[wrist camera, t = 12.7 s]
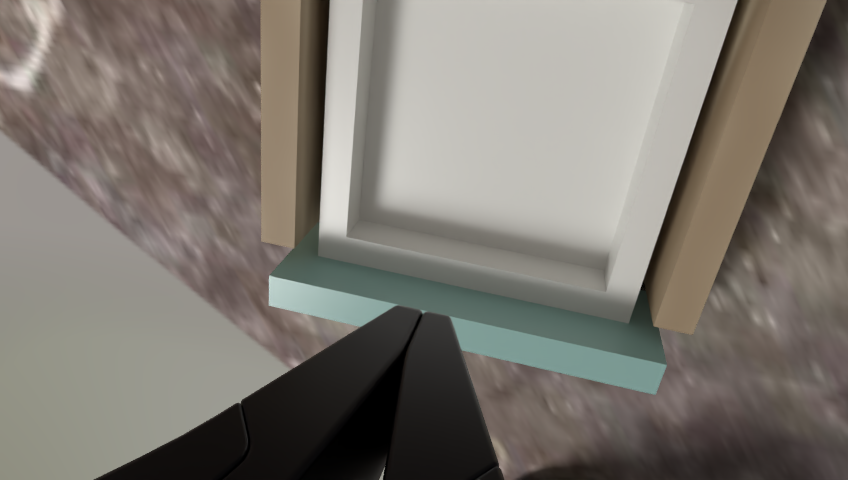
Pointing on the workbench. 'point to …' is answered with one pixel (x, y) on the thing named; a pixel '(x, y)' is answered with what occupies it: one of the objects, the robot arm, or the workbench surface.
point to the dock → (694, 190)
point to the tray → (506, 171)
